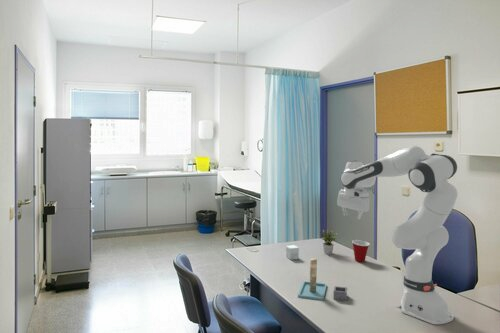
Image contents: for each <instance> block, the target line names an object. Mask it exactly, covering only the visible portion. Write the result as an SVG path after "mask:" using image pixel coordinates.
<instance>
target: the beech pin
mask: <svg viewBox="0 0 500 333" xmlns="http://www.w3.org/2000/svg"><path fill="white" fill-rule="evenodd" d="M309 265H310V266H309V282H310V292H313V293H314V292H316V283H317V269H318V268H317V267H318V261H317V258H310V261H309Z"/></svg>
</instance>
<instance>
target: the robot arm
mask: <svg viewBox="0 0 500 333" xmlns="http://www.w3.org/2000/svg"><path fill="white" fill-rule="evenodd" d="M457 170H458V164H457V162H456V160H455V159H454V158H453V157H451V156H450V155H446V154H439V153H431V154H430V155H428V154H427V153H426V152H425V150H424V149H423V148H422V147H420V146H418V145H411V146H407V147H404V148H400V149H397V150H395V151H394V152H392V153H389V154H388V155H386V156H384V157H381V158H380V159H378V160H375V161H373V162H370V163H367V164H365V165H364V164H363V161H361V160H350V161H348V162H346V164H345V168H344V170H343V172H342V173H341V175H340V183H341V184H342V185H343V187H344V188H343V189H342V188H341V189H340V190H338V194H337V195H338V196H337V200H336V205H337V207H341V209H342V212H343V216H344V217H345V216H346V217H348V216H349V212H348V211H347V209H350V210H353V211H357V213H358V215H356V220H361V219H362V215H363V213H366V212H369V211H370V205H371V204H370V198H369V197H370V192H369V191H367V190H366V189H364V188H372V187H373V186H375V184H376V183H377V179H378V177H380V178H382V177H385V178H386V177H390V178H391V177H402V176H405V175H407V176H408V180H409V181H410V183H411V184H412V185H413V186H414V187H415V188H417V189H419V190H420V192H423V193H426V196H425V197H424V199H423V201H422V203H421V205H420V206H419V208H418V210H417V211H416V212H415V213H414V215H412V216H411V217H410V218H409V219H408V220H406V221H405V222H403V223H401V224H400V225H398V226H396V227H394V228H393V230H392V232H391V241H392V243H393V244H394V246H395V247H396V248H397V249H403V250H414V251H413V253H412V254H411V255H409V256H407V257H406V259H405V262H404V263H405V264H404V265H405V267H404V268H405V269H404V271H405V272H404V275H403V290H402V291H403V293H402V297H401V300H400V303H399V304H400V305H399V307H400V312H401V313H402V314H406V315H408V316H410V317H413V318H415V319H419V320H422V321H424V322H427V323H429V324H432V325H445V324H448V323H450V322H452V321H454V314H453V313H451V312H449V307H448V303H447V301H446V300H445V299H444V298H443V296H441V295H440V294H439V293H438V292H437V290H436V287H437V285H438V284H437V283H435V284H434V280H432V278H433V277H432V273H433V265H434V261H435V259H436V257H437V255H438V253H439V252H440V251H441V249H443V247H445V246H446V245H447V244H448V242H449V239H450V238H449V237H450V235H449V232H448V229H447V228H446V227H445V226H444V224H445V222H446V220H447V219H448V217H449V215H450V214H451V212H452V210H453V208H454V206H455V204H456V202H457V198H458V189H457V188H456V187H455V185H453V184H451V183H449V181H448V180H449V179H451V178H453V177H454V175H456V173H457Z"/></svg>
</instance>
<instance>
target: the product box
mask: <svg viewBox="0 0 500 333" xmlns="http://www.w3.org/2000/svg"><path fill="white" fill-rule="evenodd" d="M285 249H286V250H285V252H286V253H285V257H286V258H287V259H288V260H298V259H299V256H300V255H299V254H300V251H299V249H300V248H299V246H297V245H295V244H293V245H291V244H290V245H286V247H285Z"/></svg>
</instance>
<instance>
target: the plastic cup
mask: <svg viewBox="0 0 500 333" xmlns="http://www.w3.org/2000/svg"><path fill="white" fill-rule="evenodd" d="M351 242H352V243H351V244H352V247H353V255H354V261H355V262H357V263H365V261H366V257H367V253H368V249H369V246H370V242H368V241H365V240H359V239H355V240H354V239H353V240H352V241H351Z"/></svg>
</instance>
